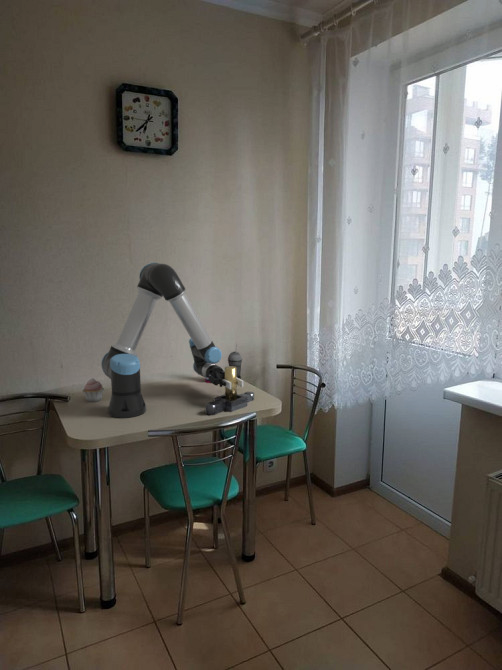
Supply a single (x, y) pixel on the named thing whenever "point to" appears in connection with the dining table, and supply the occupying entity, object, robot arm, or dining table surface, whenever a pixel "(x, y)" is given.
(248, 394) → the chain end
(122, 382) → the robot arm
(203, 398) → the dining table surface
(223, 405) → the chain end
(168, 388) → the dining table surface
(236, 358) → the beverage cup
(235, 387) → the gold tall cylinder
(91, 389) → the cupcake
